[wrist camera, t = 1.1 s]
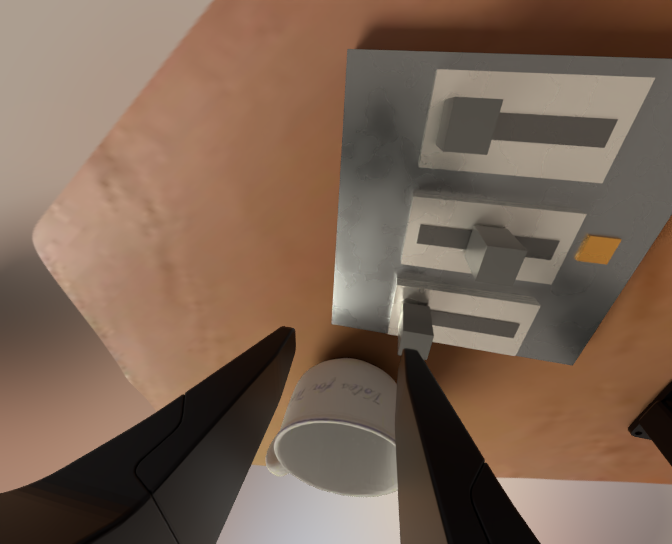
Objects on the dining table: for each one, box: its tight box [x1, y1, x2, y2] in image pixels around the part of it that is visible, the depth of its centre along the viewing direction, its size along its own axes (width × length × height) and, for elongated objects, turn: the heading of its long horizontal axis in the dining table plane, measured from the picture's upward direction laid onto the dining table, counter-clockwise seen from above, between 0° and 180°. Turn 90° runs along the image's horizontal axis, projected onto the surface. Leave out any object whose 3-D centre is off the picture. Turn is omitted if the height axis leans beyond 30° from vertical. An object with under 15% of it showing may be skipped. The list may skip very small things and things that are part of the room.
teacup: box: [266, 358, 398, 497], centre depth 26 cm, size 14×11×8 cm
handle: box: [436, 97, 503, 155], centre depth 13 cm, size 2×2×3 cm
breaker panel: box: [332, 49, 672, 365], centre depth 18 cm, size 18×18×3 cm
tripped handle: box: [464, 225, 527, 287], centre depth 15 cm, size 2×2×3 cm
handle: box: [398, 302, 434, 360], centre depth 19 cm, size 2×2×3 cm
